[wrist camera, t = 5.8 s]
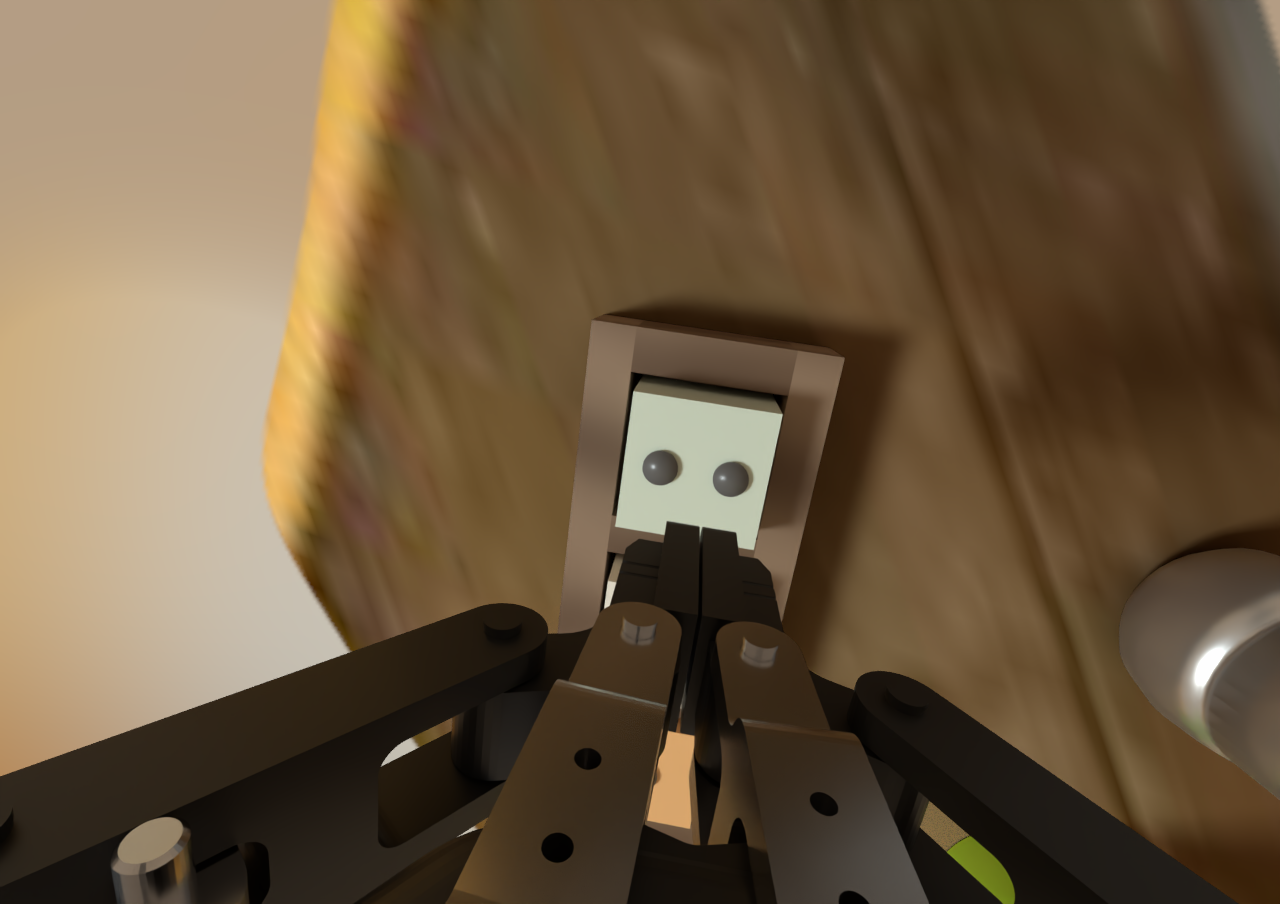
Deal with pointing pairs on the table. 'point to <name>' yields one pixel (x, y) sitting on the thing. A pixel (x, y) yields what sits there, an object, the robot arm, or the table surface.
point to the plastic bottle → (1213, 653)
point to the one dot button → (673, 782)
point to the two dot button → (697, 457)
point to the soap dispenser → (984, 868)
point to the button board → (609, 384)
